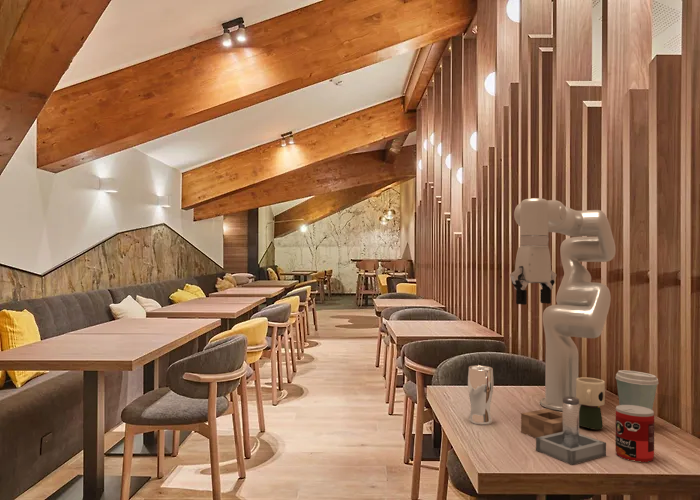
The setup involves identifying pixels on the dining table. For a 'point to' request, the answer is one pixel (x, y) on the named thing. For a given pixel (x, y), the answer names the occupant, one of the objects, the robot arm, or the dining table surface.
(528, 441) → the dining table surface
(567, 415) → the pin
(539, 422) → the block
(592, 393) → the character mug
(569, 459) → the tray
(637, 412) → the canned food
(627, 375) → the disposable coffee cup
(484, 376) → the beer glass
